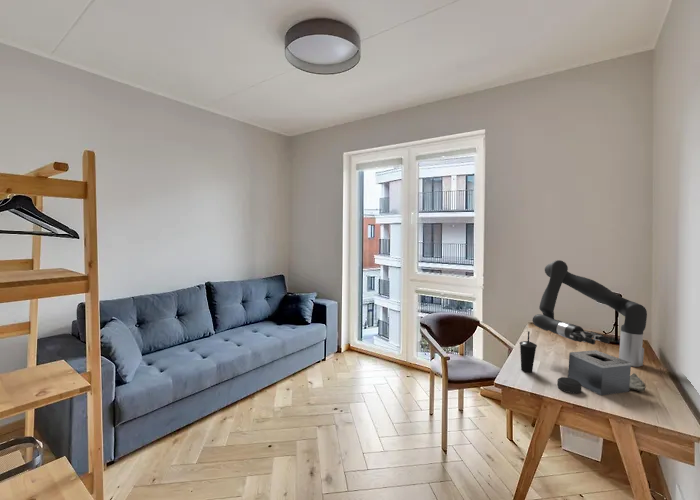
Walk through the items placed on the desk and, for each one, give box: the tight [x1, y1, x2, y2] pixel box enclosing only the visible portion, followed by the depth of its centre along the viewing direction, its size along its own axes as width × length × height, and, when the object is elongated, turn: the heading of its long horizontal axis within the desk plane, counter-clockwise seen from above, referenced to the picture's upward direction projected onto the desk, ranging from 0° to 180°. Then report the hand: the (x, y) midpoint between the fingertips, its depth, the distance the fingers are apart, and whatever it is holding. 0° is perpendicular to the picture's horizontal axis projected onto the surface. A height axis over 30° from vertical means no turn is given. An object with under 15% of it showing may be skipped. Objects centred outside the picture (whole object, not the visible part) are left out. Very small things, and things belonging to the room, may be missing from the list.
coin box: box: [567, 349, 632, 396], centre depth 153 cm, size 16×16×13 cm
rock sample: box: [629, 372, 647, 393], centre depth 151 cm, size 10×8×9 cm
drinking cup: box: [519, 331, 538, 374], centre depth 167 cm, size 8×8×20 cm
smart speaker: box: [556, 376, 582, 394], centre depth 148 cm, size 9×9×4 cm
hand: (601, 341), depth 151 cm, fingers open, 8 cm apart
